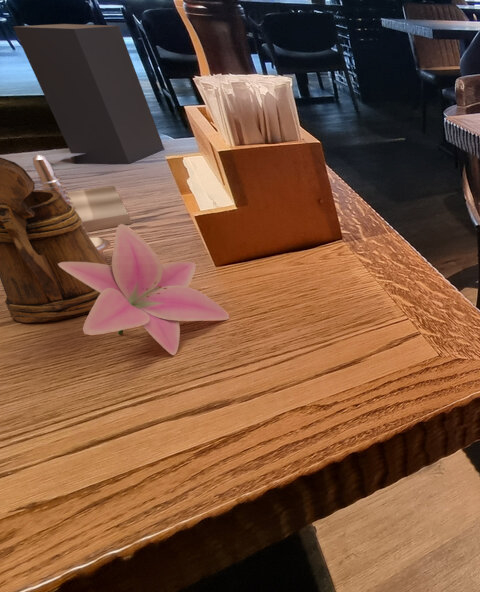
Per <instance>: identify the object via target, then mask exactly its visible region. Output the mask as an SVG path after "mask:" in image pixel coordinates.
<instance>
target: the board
mask: <svg viewBox="0 0 480 592" xmlns="http://www.w3.org/2000/svg"><path fill="white" fill-rule="evenodd" d="M66 192H67V193H68V195H67V196H68V197H70V198H71V200H70V202H72V203H73V205H72V207H75V208H76V209H75V211H76V212H77V213H78V215H79V217H80V218H81V220H82V223H83V224H82V226H84V227H85V229H84V231H86V232H87V233H88V232H94V231H99V230H105V229H110V228H117V227H118V225H120V224H124V225H126V226H128V225H132V224H133V221H132V219H131V216H130V215H129V212H128V210H127V208H126V206H125V204H124V202H123V200H122V198H121V197H120V195H119V192H118V191H117V189H116V187H115V185H107V186H101V187H94V188H87V189H80V190H73V191H66Z"/></svg>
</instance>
